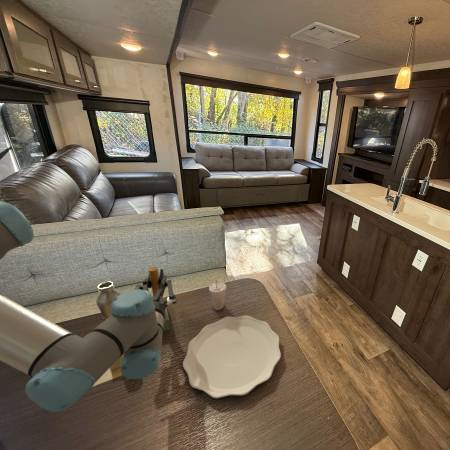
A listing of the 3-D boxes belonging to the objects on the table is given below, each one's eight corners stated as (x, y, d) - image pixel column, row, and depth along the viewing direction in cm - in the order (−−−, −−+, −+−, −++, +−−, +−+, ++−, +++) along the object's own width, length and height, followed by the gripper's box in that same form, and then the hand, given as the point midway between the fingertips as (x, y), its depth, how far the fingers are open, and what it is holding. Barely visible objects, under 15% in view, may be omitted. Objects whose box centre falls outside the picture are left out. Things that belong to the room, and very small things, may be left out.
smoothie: (206, 308, 97) (204, 278, 92) (218, 299, 103) (217, 270, 97) (218, 314, 95) (217, 284, 89) (230, 305, 100) (229, 276, 95)
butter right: (111, 359, 73) (108, 350, 72) (125, 354, 75) (123, 345, 73) (110, 370, 70) (107, 361, 68) (125, 364, 72) (123, 356, 70)
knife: (155, 305, 89) (147, 263, 82) (163, 303, 90) (156, 262, 84) (157, 319, 83) (149, 276, 76) (165, 317, 84) (158, 274, 78)
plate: (205, 427, 60) (205, 421, 60) (172, 345, 81) (172, 340, 80) (297, 364, 78) (298, 358, 77) (252, 309, 99) (252, 305, 98)
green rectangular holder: (154, 313, 92) (151, 300, 90) (166, 310, 95) (164, 297, 92) (157, 337, 83) (155, 323, 81) (170, 332, 85) (168, 319, 83)
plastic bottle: (108, 329, 84) (94, 281, 76) (131, 324, 87) (120, 277, 79) (103, 344, 79) (88, 293, 71) (129, 338, 82) (116, 289, 74)
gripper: (116, 338, 65) (132, 285, 85) (181, 324, 71) (182, 278, 91) (110, 316, 62) (128, 267, 82) (179, 303, 69) (180, 260, 88)
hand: (156, 273), depth 86 cm, fingers closed on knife, 3 cm apart
